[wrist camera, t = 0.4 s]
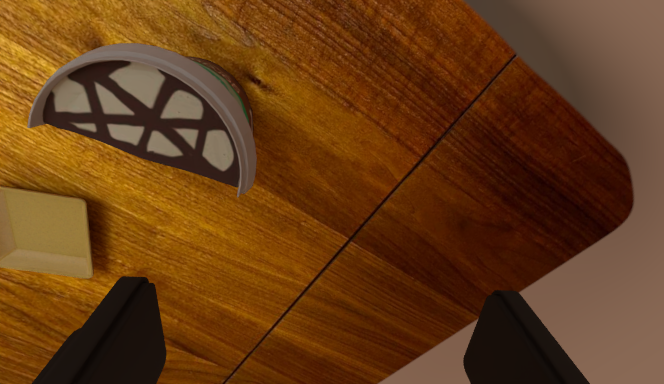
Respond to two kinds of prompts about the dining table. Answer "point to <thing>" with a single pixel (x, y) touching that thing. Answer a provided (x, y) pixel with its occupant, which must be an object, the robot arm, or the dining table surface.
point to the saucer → (44, 233)
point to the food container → (155, 109)
